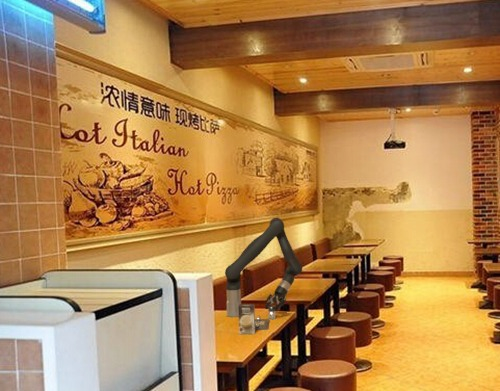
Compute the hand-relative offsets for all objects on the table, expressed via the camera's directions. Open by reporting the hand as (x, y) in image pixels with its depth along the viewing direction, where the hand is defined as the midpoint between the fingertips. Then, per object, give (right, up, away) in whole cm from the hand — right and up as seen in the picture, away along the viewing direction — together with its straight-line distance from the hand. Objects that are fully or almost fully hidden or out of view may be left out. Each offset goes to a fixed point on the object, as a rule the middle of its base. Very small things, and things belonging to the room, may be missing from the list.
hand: (270, 309), depth 368 cm
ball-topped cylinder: (+1, -6, +1) cm, 6 cm away
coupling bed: (-8, -6, -16) cm, 19 cm away
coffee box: (-14, -7, -34) cm, 38 cm away
